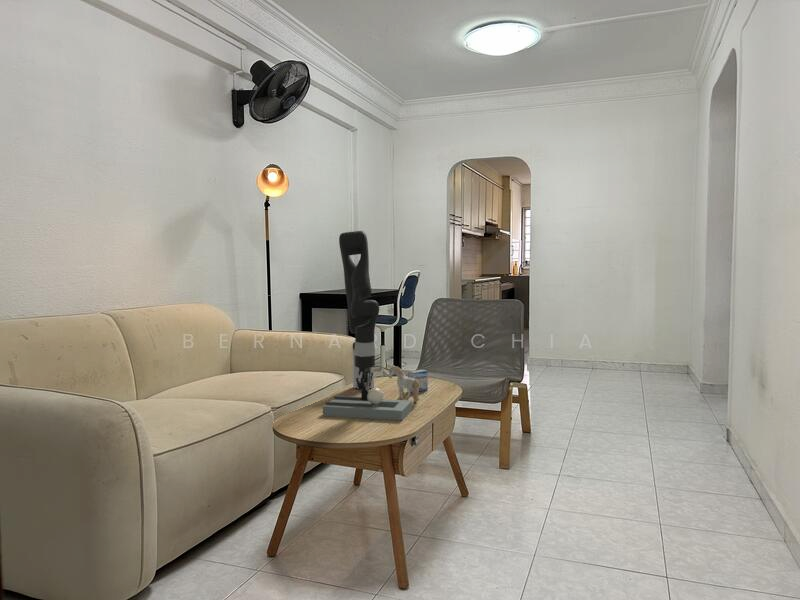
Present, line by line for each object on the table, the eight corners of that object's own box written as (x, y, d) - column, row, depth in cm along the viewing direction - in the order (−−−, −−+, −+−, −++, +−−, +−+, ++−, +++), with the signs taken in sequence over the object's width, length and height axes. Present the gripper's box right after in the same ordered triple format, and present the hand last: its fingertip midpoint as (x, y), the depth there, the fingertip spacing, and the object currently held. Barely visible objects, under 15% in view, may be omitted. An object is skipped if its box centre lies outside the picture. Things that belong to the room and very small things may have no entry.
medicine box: (414, 393, 248) (414, 372, 248) (407, 391, 252) (407, 371, 251) (428, 390, 253) (428, 370, 253) (421, 388, 257) (421, 369, 256)
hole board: (337, 405, 228) (337, 394, 228) (412, 409, 221) (412, 398, 220) (322, 415, 214) (322, 403, 214) (402, 420, 206) (402, 408, 206)
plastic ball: (380, 383, 218) (388, 397, 218) (367, 390, 220) (375, 404, 219) (375, 386, 213) (382, 401, 212) (361, 393, 214) (369, 408, 214)
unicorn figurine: (390, 395, 244) (390, 363, 244) (428, 402, 232) (428, 368, 231) (379, 398, 239) (379, 366, 238) (417, 405, 227) (417, 371, 226)
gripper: (360, 350, 223) (360, 395, 224) (349, 356, 210) (349, 403, 212) (379, 351, 221) (379, 396, 222) (368, 357, 208) (368, 405, 210)
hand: (364, 399), depth 217 cm, fingers closed
